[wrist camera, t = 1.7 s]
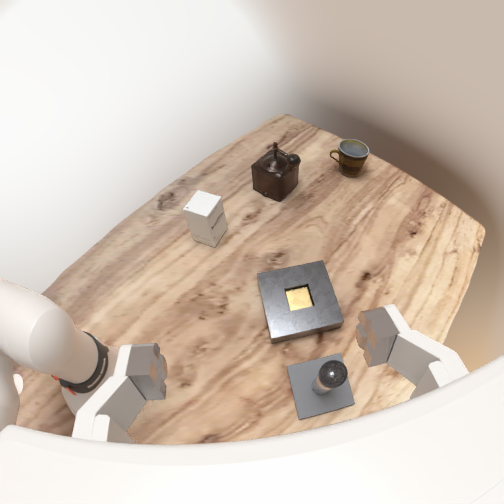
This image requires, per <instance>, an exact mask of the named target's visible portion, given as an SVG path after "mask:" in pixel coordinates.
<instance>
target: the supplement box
mask: <svg viewBox="0 0 504 504" xmlns="http://www.w3.org/2000/svg"><path fill="white" fill-rule="evenodd" d="M183 212H184V215H185V218H186V221H187V223H188V226H189V229H190V232H191V234H192V237H193V240H196V241H198V242H201V243H204V244H206V245H209V246H212V247H216V245H217V243H218V242H219V240H220V239H221V237H222V236H223V234H224V233H225V231H226V230H227V223H226V218H225V213H224V208H223V204H222V199H221V197H220V196H216V195H213V194H209V193H206V192H202V191H199V190H198V191H197V192H196V193H195V194H194V196H193V197H192V198H191V199H190V201H189V202H188V203H187V205H186V206H185V207H184V208H183Z"/></svg>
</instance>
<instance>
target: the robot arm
mask: <svg viewBox="0 0 504 504" xmlns="http://www.w3.org/2000/svg"><path fill="white" fill-rule="evenodd" d="M358 319H359V321H360V323H359V324H358V325H357V326H356V339H357V342H358V345H359V347H360V348H362V349H363V350H365V351H364V354H363V356H364V358H365V360H366V362H367V364H368V367H372V366H376V365H380V364H383V363H387V364H388V365H389V366H391V367H392V368H393V369H395V370H396V371H397V372H398V373H400V374H401V375H402V376H404V377H405V378H406V379H408V380H409V381H410V382H412V383H413V384H414V385H416V388H415V390H414V391H413V393H412V395H411V397H410V398H411V399H410V400H408V401H405V402H403V403H400V404H397V405H394V406H391V407H389V408H386V409H383V410H380V411H377V412H374V413H370V414H367V415H364V416H361V417H357V418H354V419H350V420H347V421H343V422H339V423H335V424H331V425H327V426H323V427H319V428H314V429H310V430H305V431H300V432H295V433H290V434H284V435H278V436H272V437H265V438H258V439H251V440H242V441H233V442H222V443H208V444H184V445H152V444H135V443H136V442H135V441H134V440H133V439H132V438H131V437H130V436H129V435H128V434H127V433H126V431H127V430H128V428H129V427H130V425H131V424H132V422H133V421H134V419H135V418H136V416H137V415H138V413H139V412H140V410H141V409H142V407H143V406H144V404H145V403H146V400H164V399H165V396H166V385H165V383H164V380H165V379H166V378H167V363H166V360H165V358H164V356H163V355H162V354H160V348H159V346H158V344H157V343H149V344H130V345H122V346H121V347H120V348H119V347H116V346H109V345H105V343H103V342H102V341H101V340H99V339H98V338H96V337H95V336H93V335H91V334H89V333H87V332H84V331H81V330H80V329H79V328H77V327H76V326H74V323H73V321H72V319H71V317H70V316H69V314H68V313H67V312H65V311H64V310H63V309H62V308H60V307H59V306H58V305H57V304H55V303H54V302H52V301H51V300H50V299H48V298H47V297H45V296H43V295H41V294H38V293H36V292H34V291H31V290H29V289H27V288H24V287H22V286H19V285H16V284H14V283H12V282H10V281H7V280H5V279H3V278H0V504H504V354H503V355H501V356H500V357H498V358H496V359H494V360H492V361H491V362H489V363H487V364H485V365H484V366H482V367H480V368H478V369H476V370H474V371H472V372H470V373H469V372H468V370H467V369H466V367H465V366H464V364H463V362H462V361H461V359H460V357H459V356H458V355H457V353H456V352H455V351H453V350H451V349H450V348H448V347H446V346H444V345H442V344H440V343H438V342H437V341H435V340H433V339H431V338H429V337H427V336H425V335H423V334H422V333H420V332H418V331H416V330H411V329H410V327H409V326H408V324H407V323H406V321H405V320H404V318H403V317H402V315H401V314H400V312H399V311H398V309H397V308H396V306H395V305H394V304H390V305H386V306H382V307H378V308H374V309H370V310H365V311H361V312H360V313H359V317H358ZM13 360H14V361H15V362H17V363H18V364H19V365H21V366H24V367H26V368H28V369H31V370H34V371H37V372H40V373H44V374H51V376H52V377H54V379H55V380H59V381H60V384H61V385H62V390H61V391H62V395H63V397H64V399H65V401H66V402H67V405H68V407H69V409H70V410H71V412H72V413H73V414H74V415H75V417H76V420H75V424H74V429H73V434H72V437H68V436H62V435H56V434H51V433H46V432H42V431H37V430H33V429H29V428H25V427H21V426H17V425H15V424H16V420H17V415H18V411H19V407H20V398H19V394H18V391H17V388H16V386H15V383H14V377H13Z"/></svg>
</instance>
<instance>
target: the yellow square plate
mask: <svg viewBox="0 0 504 504" xmlns="http://www.w3.org/2000/svg"><path fill="white" fill-rule="evenodd" d="M286 297H287V301H288V305H289V308H290V311H293V310H297V309H302V308H306V307H310V306H312V302H311V299H310V296H309V293H308V289H307V287H304V288H300V289H295V290H291V291H286Z"/></svg>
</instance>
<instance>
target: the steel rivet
mask: <svg viewBox="0 0 504 504" xmlns="http://www.w3.org/2000/svg"><path fill="white" fill-rule="evenodd" d="M347 374H348V373H347V368H346V367H345V365H344V364H343V363H342V362H340V361H337V360H330V361H327V362H326V363H324V364H323V365H322V367H321V368H320V370H319V373H318V376H317V377H316V378H315V379H314V381H313V382H312V390H313V391H314V392H315V393H316V394H318V395H323V394H326V393H327V392H329V391H330V390H331V389H334V388H337V387H339V386H341V385H342V384H343V383H344V382H345V381H346V379H347Z"/></svg>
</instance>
